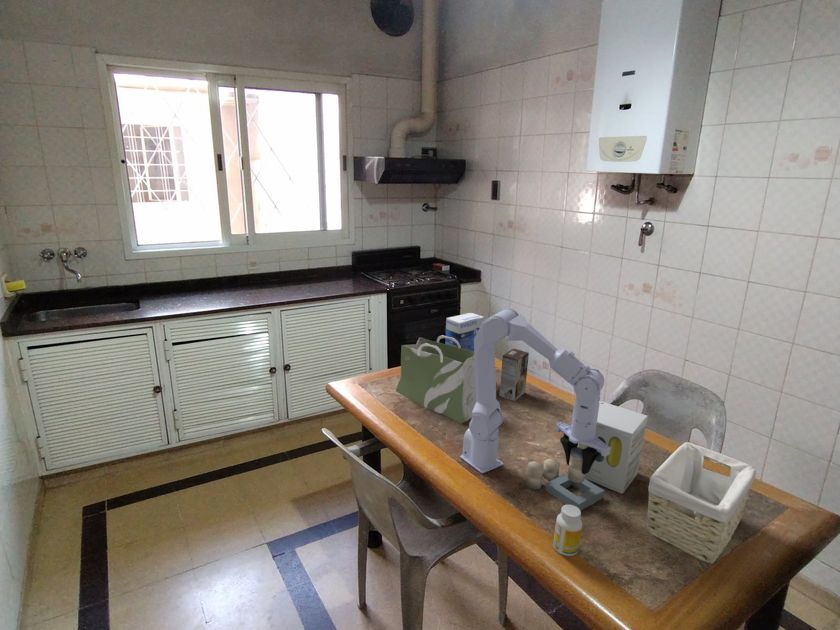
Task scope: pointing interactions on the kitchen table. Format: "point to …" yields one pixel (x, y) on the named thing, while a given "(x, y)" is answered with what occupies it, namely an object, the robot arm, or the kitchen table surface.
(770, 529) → the kitchen table surface
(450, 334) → the string lights box
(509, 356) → the coffee box
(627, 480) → the supplement box
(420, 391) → the grocery bag
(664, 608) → the kitchen table surface
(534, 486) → the medium pin
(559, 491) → the collar block
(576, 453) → the long pin
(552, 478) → the short pin
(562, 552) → the supplement bottle
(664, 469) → the storage basket
